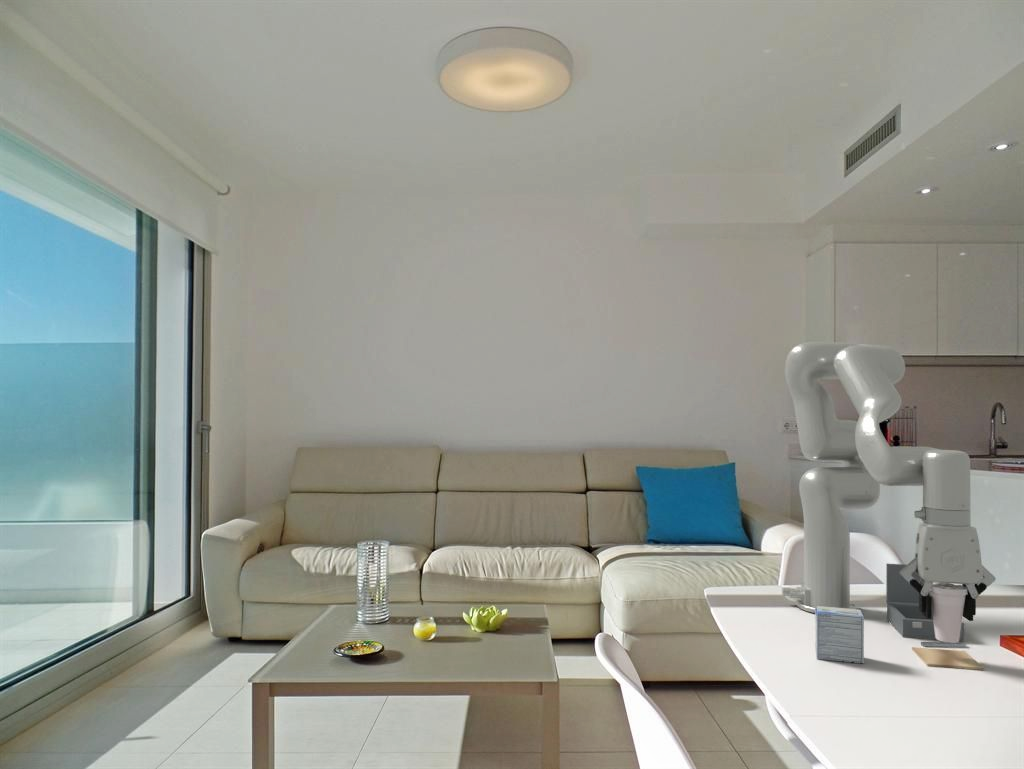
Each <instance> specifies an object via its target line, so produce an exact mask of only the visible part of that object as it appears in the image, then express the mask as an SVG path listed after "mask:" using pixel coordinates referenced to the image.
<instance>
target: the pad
mask: <svg viewBox="0 0 1024 769" xmlns="http://www.w3.org/2000/svg"><path fill="white" fill-rule="evenodd" d="M911 650H912V651H913V652H914V653H915V655H917V656H918V657H919V659H920V660H921V661H922V662H923V661H924V662H923V663H924V664H925V665H926V666H927V667H938V668H949V669H951V668H952V669H961V668H964V670H965V669H966V670H974V669H979V670H978V671H985V668H984V666H983V665H981V664H980V663H979V662H978V661H977V660H976V659H975V658H973V657H972V656H971V655H970V654H969V653H968V652H967V651H965V650H953V649H940V648H931V647H915V646H912V647H911ZM950 667H951V668H950Z"/></svg>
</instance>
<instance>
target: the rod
mask: <svg viewBox="0 0 1024 769" xmlns="http://www.w3.org/2000/svg"><path fill="white" fill-rule="evenodd" d="M920 646H922V648H965V649H966V648H967V643H965V642H964V641H959V642H957V643H949V642H943V641H920Z"/></svg>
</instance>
